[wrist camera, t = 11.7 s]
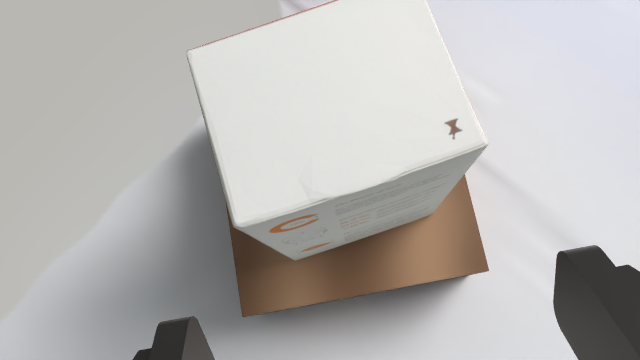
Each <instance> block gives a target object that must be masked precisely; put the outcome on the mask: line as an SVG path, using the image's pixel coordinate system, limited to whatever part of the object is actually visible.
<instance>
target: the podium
mask: <svg viewBox="0 0 640 360" xmlns="http://www.w3.org/2000/svg"><path fill="white" fill-rule="evenodd" d="M226 205H227V202H226ZM227 212H228V219H229V226H230V233H231V240H232V247H233V254H234V261H235V268H236V275H237V282H238V289H239V295H240V302H241V309H242V316H243V317H246V316H252V315H258V314H264V313H269V312H275V311H280V310H285V309H291V308H296V307H301V306H307V305H312V304H317V303H323V302H328V301H333V300H339V299H344V298H349V297H355V296H360V295H365V294H371V293H376V292H381V291H387V290H392V289H397V288H403V287H408V286H413V285H419V284H424V283H429V282H435V281H440V280H445V279H451V278H456V277H461V276H467V275H472V274H477V273H481V272H486V271H489V269H488V265H487V261H486V257H485V253H484V249H483V245H482V241H481V237H480V233H479V229H478V225H477V221H476V217H475V213H474V209H473V205H472V201H471V197H470V193H469V189H468V185H467V182H466V178H465V174H464V175H463V176H462V178H461V179H460V180H459V181H458V183H457V184H456V185H455V186H454V188H453V189H452V190H451V191H450V192H449V193H448V195H447V196H446V197H445V198H444V200H443V201H442V202H441V204H440V205H439V206H438V208H437V209H436V210H435V212H434V213H433V214H431V215H429V216H426V217H423V218H421V219H418V220H415V221H412V222H409V223H406V224H404V225H401V226H398V227H395V228H392V229H389V230H386V231H383V232H380V233H377V234H374V235H371V236H368V237H365V238H363V239H360V240H357V241H354V242H351V243H348V244H345V245H342V246H339V247H336V248H333V249H330V250H327V251H324V252H321V253H318V254H315V255H312V256H309V257H305V258H302V259H299V260H296V261H295V260H292V259H291V258H289V257H287V256H285V255H283V254H282V253H280V252H278V251H276V250H274V249H273V248H271V247H269V246H267V245H265V244H263V243H262V242H260V241H258V240H257V239H255V238H253V237H251V236H250V235H248V234H246V233H244V232H242V231H240V230H238V229H236V228H234V227H233V224H232V221H231V217H230V213H229V210H228V206H227Z"/></svg>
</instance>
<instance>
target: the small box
mask: <svg viewBox="0 0 640 360" xmlns="http://www.w3.org/2000/svg"><path fill="white" fill-rule="evenodd" d="M187 59H188V62H189V66H190V70H191V74H192V77H193V81H194V84H195V88H196V92H197V95H198V99H199V103H200V106H201V110H202V114H203V118H204V121H205V125H206V129H207V132H208V136H209V140H210V143H211V147H212V150H213V154H214V158H215V161H216V165H217V169H218V173H219V176H220V180H221V184H222V188H223V191H224V195H225V199H226V202H227V206H228V210H229V213H230V217H231V221H232V224H233V227H234V228H236V229H238V230H240V231H242V232H244V233H246V234H248V235H250V236H251V237H253V238H255V239H257V240H258V241H260V242H262V243H263V244H265V245H267V246H269V247H271V248H273V249H274V250H276V251H278V252H280V253H282V254H283V255H285V256H287V257H289V258H291V259H292V260H295V261H296V260H299V259H302V258H305V257H309V256H312V255H315V254H318V253H321V252H324V251H327V250H330V249H333V248H336V247H339V246H342V245H345V244H348V243H351V242H354V241H357V240H360V239H363V238H365V237H368V236H371V235H374V234H377V233H380V232H383V231H386V230H389V229H392V228H395V227H398V226H401V225H404V224H406V223H409V222H412V221H415V220H418V219H421V218H423V217H426V216H429V215H431V214H433V213H434V212H435V210H436V209H437V208H438V206H439V205H440V204H441V202H442V201H443V200H444V198H445V197H446V196H447V195H448V193H449V192H450V191H451V190H452V189H453V188H454V186H455V185H456V184H457V183H458V181H459V180H460V179H461V178H462V176H463V175H464V174H465V173H466V171H467V170H468V169H469V168H470V166H471V165H472V164H473V163H474V162H475V160H476V159H477V158H478V157H479V155H480V154H481V153H482V152H483V150H484V149H485V148H486V147H487V145H488V141H487V139H486V137H485V135H484V133H483V130H482V128H481V126H480V124H479V122H478V119H477V117H476V115H475V113H474V110H473V108H472V106H471V104H470V102H469V99H468V97H467V95H466V93H465V90H464V88H463V86H462V84H461V81H460V79H459V77H458V74H457V72H456V69H455V67H454V65H453V62H452V60H451V58H450V55H449V53H448V51H447V48H446V46H445V44H444V41H443V39H442V37H441V34H440V32H439V30H438V28H437V25H436V23H435V20H434V18H433V16H432V13H431V11H430V8H429V6H428V4H427V1H426V0H334V1H331V2H328V3H325V4H323V5H320V6H317V7H314V8H311V9H308V10H305V11H302V12H299V13H296V14H293V15H290V16H287V17H284V18H281V19H278V20H275V21H272V22H270V23H267V24H264V25H261V26H259V27H256V28H252V29H249V30H246V31H244V32H241V33H238V34H235V35H232V36H229V37H226V38H223V39H220V40H217V41H214V42H211V43H208V44H205V45H202V46H200V47H197V48H194V49H190V50H188V51H187Z"/></svg>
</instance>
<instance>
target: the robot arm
mask: <svg viewBox="0 0 640 360" xmlns="http://www.w3.org/2000/svg"><path fill="white" fill-rule="evenodd" d="M553 304H554V311H555V315H556V319H557V322H558V324H559V327H560V329H561V331H562V332H563V334H564V336H565V337H566V339H567V341H568V343H569V344H570V346H571V348H572V349H573V351H574V353H575V355H576V356H577V358H578V360H640V272H639V271H638V270H636V269H635V268H633V267H631V266H630V265H624V266H618V267H616V266H615V265H614V264H613V263H612V261H611V260H610V259H609V258H608V257H607V255H606V254H605V253H604V252H603V250H602V249H601V248H600V247H598V246H596V245H593V246H588V247H582V248H576V249H571V250H565V251H560V252H559V253H558V255H557V259H556V273H555V286H554V299H553ZM133 360H215V359H214V357H213V354H212V352H211V350H210V347H209V345H208V343H207V341H206V338H205V336H204V334H203V331H202V329H201V327H200V324H199V322H198V320H197V319H196V318H195V317H194V316H192V317H186V318H181V319H175V320H169V321H164V322H160V323H159V325H158V327H157V329H156V333H155V337H154V341H153V345H152V348H150V349H145V350H139V351H138V352H137V354H136V355H135V357H134V358H133Z"/></svg>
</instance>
